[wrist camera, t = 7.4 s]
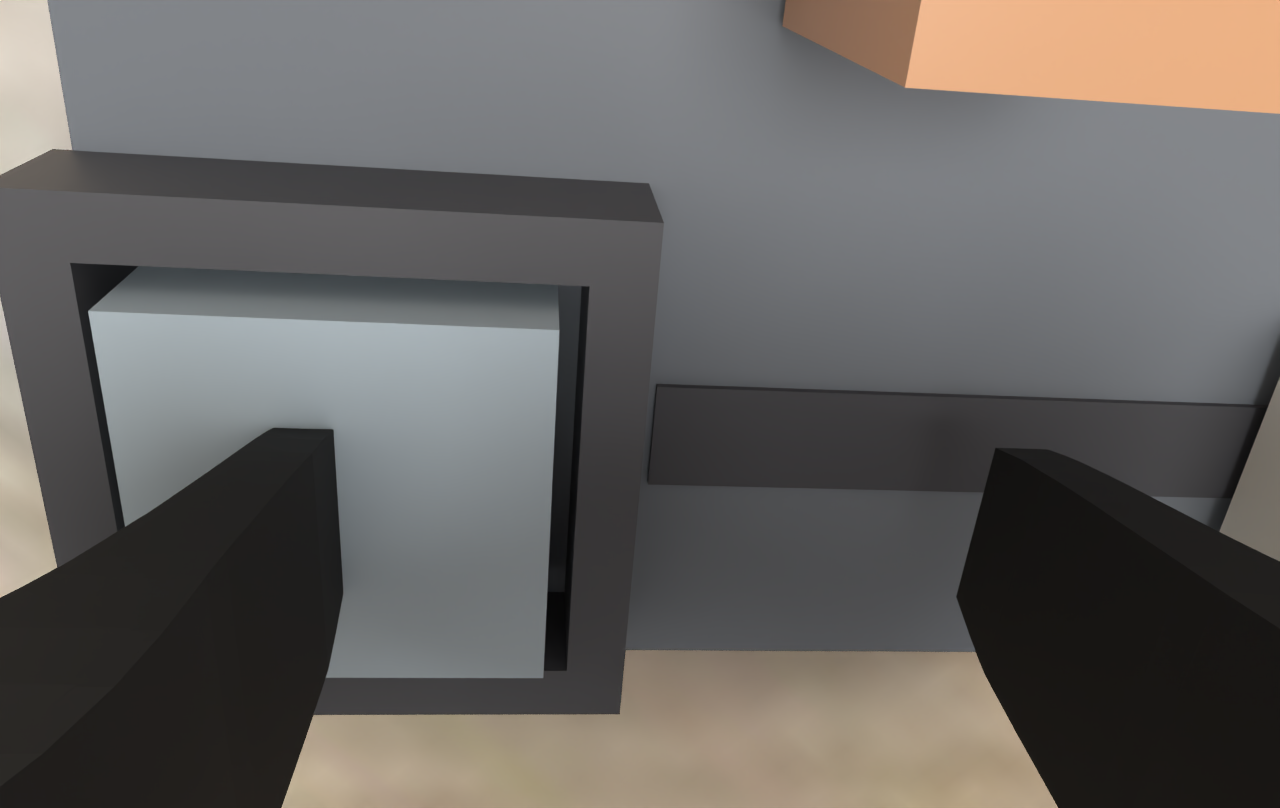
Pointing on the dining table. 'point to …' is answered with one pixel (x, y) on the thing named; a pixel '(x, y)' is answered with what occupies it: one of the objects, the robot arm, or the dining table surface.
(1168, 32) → the terracotta slider
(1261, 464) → the ivory slider
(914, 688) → the dining table surface
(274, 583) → the robot arm
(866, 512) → the control board
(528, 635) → the grey button
